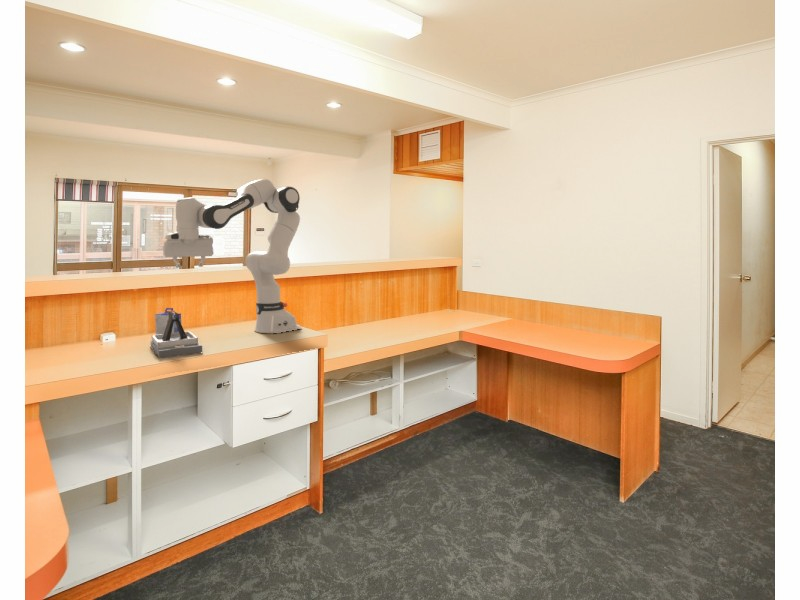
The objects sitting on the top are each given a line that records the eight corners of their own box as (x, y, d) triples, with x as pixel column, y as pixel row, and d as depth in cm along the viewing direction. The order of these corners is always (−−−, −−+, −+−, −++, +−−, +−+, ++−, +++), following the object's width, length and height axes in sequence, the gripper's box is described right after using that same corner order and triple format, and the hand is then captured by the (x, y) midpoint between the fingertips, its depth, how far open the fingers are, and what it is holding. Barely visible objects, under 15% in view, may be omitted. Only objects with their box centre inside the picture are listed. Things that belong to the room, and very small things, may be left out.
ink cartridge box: (183, 339, 222) (181, 308, 220) (175, 342, 217) (173, 310, 215) (163, 338, 224) (161, 307, 222) (155, 341, 219) (153, 309, 217)
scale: (191, 342, 217) (190, 330, 216) (202, 352, 200) (201, 339, 200) (150, 347, 207) (150, 335, 207) (159, 358, 191) (158, 344, 190)
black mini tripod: (164, 343, 200) (162, 314, 198) (162, 340, 205) (160, 311, 203) (188, 340, 205) (186, 312, 203) (185, 337, 210) (183, 309, 208)
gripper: (210, 235, 222) (212, 265, 224) (161, 235, 210) (163, 267, 213) (214, 235, 217) (215, 266, 219) (164, 235, 205) (166, 268, 207)
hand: (189, 267), depth 216 cm, fingers open, 8 cm apart
